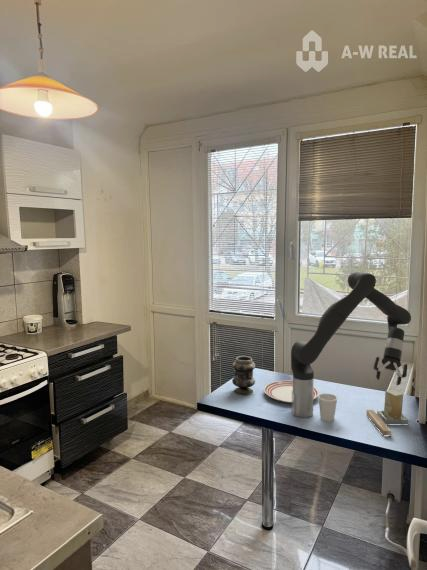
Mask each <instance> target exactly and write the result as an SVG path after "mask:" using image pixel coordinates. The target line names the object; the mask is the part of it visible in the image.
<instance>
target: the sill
mask: <svg viewBox="0 0 427 570" xmlns="http://www.w3.org/2000/svg"><path fill="white" fill-rule="evenodd" d="M376 412H377V411H375V410H374V409H366V417H367V416H368V417H369V418H370V419H371V420H370V419H369V418H368V417H367V418H368V419H369V420H370V421H372V422H373V423H374V424H375V425H374V424H373V423H372V422H371V423H372V424H373V425H374V427H375V426H376V427H377V428H378V429H379V430H380V432H381V433H382V434H383V435H391V436H392V429H390V428H389V427H388V426H389V425H386V424H385V423H384V422H383V421H382V419H381V418H380V417H379V416H378V415H377V413H376ZM376 427H375V428H376ZM377 428H376V429H377ZM378 429H377V430H378ZM379 430H378V431H379ZM380 432H379V433H380ZM381 433H380V434H381ZM382 434H381V435H382ZM383 435H382V436H383Z"/></svg>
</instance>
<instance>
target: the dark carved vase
mask: <svg viewBox="0 0 427 570" xmlns="http://www.w3.org/2000/svg"><path fill="white" fill-rule="evenodd" d="M232 367H233V369H234V376H233V377H232V380H231V382H232V384H233V385H234V386H235V387H236V388H235V389H234V390H233V391H234V393H235V394H237V395H241V396H244V395H246V396H247V395H250V394H253V393H254V390H253V389H252V388H251V387H253V386H254V385H255V383H256V379H255V377H254V370H255V368H256V364H255V362H254V361H253V358H252V357H251V356H247V355H240V356H237V357H236V358H235V361H234V362H233V363H232Z"/></svg>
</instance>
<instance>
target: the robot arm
mask: <svg viewBox="0 0 427 570" xmlns="http://www.w3.org/2000/svg"><path fill="white" fill-rule="evenodd" d="M347 285H348V286H349V288H350V289H352V290H351V291H350V292H349V293H348V294H347V295H345V296H344V297H342V298H340V299H338V300H337V301H335V302H334V303H332V304H330V306H328V308H327V309H326V310H325V311H324V312H323V314H322V315H321V316H320V318H319V321H318V322H319V323H318V326H317V328H316V332H315V333H314V334H313V336H312V337H311V338H310V339H309V340H308V341H304V340H298V341H296V342H294V343H293V345H292V347H291V350H290V351H291V352H290V365H291V366H290V367H291V372H292V381H293V391H292V403H291V408H290V409H291V412H292V415H293V416H294V417H299V418H309V417H313V414H314V400H313V387H314V381H315V380H314V379H315V377H314V370H313V368H312V366H311V365H312V364H313V363H314V362H316V360H317V359H318V357H319V356H320V354H321V353H322V351H323V350H324V348H325V347H326V345H327V343H328V342H329V341H330V340H331V339H332V337H333V336H335V333H336V332H337V331H338V330H339V329H340V328H341V326H342V325H343V324H344V322H346V320H347V319H348V317H350V316H351V314H352V313H353V311H355V309H356V308H357V307H358V306H359V305H360V303H362V301H363V300H365V299H367V300H368V301H369V302H370V303H372V305H374V306H375V307H376V308H377V309H378V310H379V311H381V312H382V314H384V315H385V316H386V320H387V328H388V331H387V337H386V341H385V346H384V350H383V351H384V352H383V358H381V357H379V356H377V357H376V358H375V360H374V364H373V367H372V368H373V370H374V371H376V374H375V379H376V380H377V381H379V380H380V378H381V371H383V370H384V369H385V370H387V371H391V372H395V374H396V375H397V379H396V383H395V386H399V385H401V383H402V378H403V379H404V378H407V373H408V364H404V363H401V360H402V354H403V353H402V352H403V346H404V337H405V331H404V329H403V328H400V327H398V326H400V325H401V326H402V325H404V326H405V325H408V324H410V323H411V320H412V315H411V313H410V312H409V311H408V309H406V308H404V307H402V306H401V305H399V304H396V303H395V302H394V301H393V300H392V299H391V298H390V297H389V296H387V295H386V294H385V293H383V292H381V291H379V290H378V289H376V288H375V287H376V285H377V279H376V276H375V275H374V274H373V273H369V272H365V271H360V270H357V271H353V272H350V274H349V276H348V277H347ZM380 362H381V363H382V365H381V366H380V367H378V366H379V363H380ZM400 367H401V369H402V372H401V370H400V369H399V368H400Z"/></svg>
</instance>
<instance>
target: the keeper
mask: <svg viewBox="0 0 427 570" xmlns="http://www.w3.org/2000/svg"><path fill="white" fill-rule="evenodd" d="M376 412H377V413H376V414H377V415H378V416H379V417H380V418H381V419H382V421H383V422H384V423H385V424H408V425H409V422H410V421H409V419H408V418H407V416H406V415H404V413H402V418H401V419H387V418H386V417H385V416H384V409H378V410H377V411H376Z"/></svg>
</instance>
